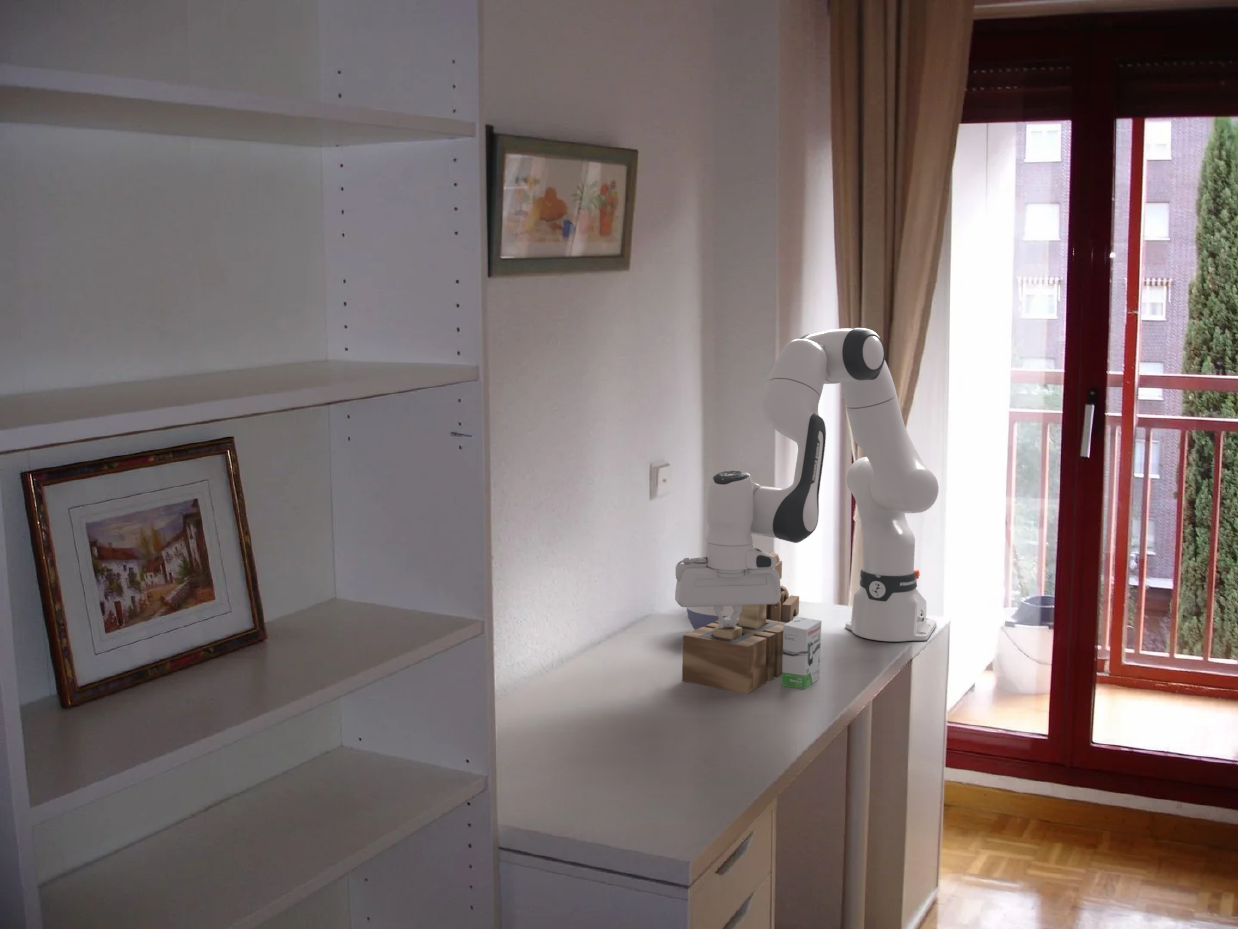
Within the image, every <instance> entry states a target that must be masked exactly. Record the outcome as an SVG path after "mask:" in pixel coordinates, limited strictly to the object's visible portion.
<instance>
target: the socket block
mask: <svg viewBox="0 0 1238 929" xmlns="http://www.w3.org/2000/svg"><path fill="white" fill-rule="evenodd" d="M730 616H731V615H730ZM730 616H727V617H725V618H728V617H730ZM786 623H787V622H778V621H772V620H766V625H765V626H762V627H760V628H758V629H757V628H751V627H745V626H739V616H738V618H737V619H736V626H737V627H742V636H740V637H738V638H736V639H734V640H731V639H725V638H720V637H714V636H713V634H714V628H716V627H719V620H718V621H715V623H711V624H708V625H706V627H701V628H699V629H696V630H695V629H693V630H692V631H689V632H687V633H685V634H683V635H682V663H681V664H682V670H681V671H682V674H681V678H682V679H681V681H683V682H688V683H693V684H697V685H701V686H702V685H703V686H707V687H711V688H716V689H721V690H727V691H731V692H736V693H741V694H745V695H748V694H750V693H751V692H753V691H754V690H757V689H759V688H760V687H762V686H764V685H766V683H770V682H771V681H773V680H775V678H778V677H780V676H781V677H782V655H783V626H784V624H786Z"/></svg>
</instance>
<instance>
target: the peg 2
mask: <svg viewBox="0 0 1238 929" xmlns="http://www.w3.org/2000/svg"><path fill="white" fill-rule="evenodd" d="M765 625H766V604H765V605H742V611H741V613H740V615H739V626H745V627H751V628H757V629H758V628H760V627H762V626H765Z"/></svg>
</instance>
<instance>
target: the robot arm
mask: <svg viewBox="0 0 1238 929" xmlns="http://www.w3.org/2000/svg"><path fill="white" fill-rule="evenodd" d="M885 359H886V350H885V346H884V342H883V340H882V339H881V337H880V336H879V335H878V334H877V333H876V331H874V330H872V329H869V328H865V327H864V328H862V327H855V328H838V329H837V328H836V329H830V330H829V329H828V330H826V331H820V332H817V333H813V334H809V333H808V334H804V335H801V336H799V337H797V338H795V339H793V340H790V341H789V342H788V343H787V342H786V344H785V345H784V346H783V347H782V350H781V351H780V353H779V355H778V357H777V359H776V361H775V363H774V365H773V366H772V369H771V372H770V374H769V377H768V380H767V382H766V386H765V389H764V391H763V395H762V398H761V411H762V415H763V416H764V419H765V420H766V422H767V424H769V426H771V427H772V429H774V430H775V431H777V432H778V433H779V434H780V435H783V436H784V437H786V438H788V439H789V440H791V441H793V442H795V443H796V444H797V454H796V462H795V468H794V476H793V481H792V482H793V483H792V484H791V485H790V486H788V487H786V488H781V487H774V486H767V485H763V484H762V485H761V484H759V483H757V482H755V481H753V480H752V477H751V474H750V473H749V472H747V471H742V470H736V469H735V470H725V471H721V472H718V473H716V474H714V475H713V476H712V477H711V481H710V482H709V487H708V494H707V503H706V522H707V526H708V529H707V531H708V532H707V534H706V538H705V539H706V540H705V557H693V558H691V557H684V558H683V559H681V560H680V561H679V562H677V564H676V565H675V574H674V575H675V579H676V584H675V585H676V586H675V593H674V594H675V595H674V599H675V602H676V603H677V604H678V605H679V606H680V607H682V608H687V607H709V606H713V610H714V611H715V613H716V615H717V617H718V618H719V628H720V629H724V628H735V627H736V619H737V618H738V616H739V615H740V613H741V611H742V605H765V604H777V603H778V601H779V600H780V598H781V587H780V586H781V579H780V577H779V574H778V572H777V570H776V569H774V567H776V564H777V560H776V558H775V557H774V556H773V555H771V554H770V553H769V551H768V552H767V551H765V550H762V549H759V548H756V547H754V546H753V544H754V542H753V536H752V535H757V536H762V537H768V538H775V539H779V540H782V541H786V542H790V543H794V544H799V543H800V542H802V541H804V540H806V539H807V538H809V537H810V536H811V534H813V533H814V532H815V531H816V528H817V526H818V523H819V513H820V512H819V511H820V507H819V506H820V504H819V503H820V502H819V497H820V496H819V495H820V490H821V488H820V487H821V480H822V474H823V467H824V466H823V465H824V456H825V450H826V438H827V437H826V436H827V428H826V422H825V421H824V419H823V418H822V417H821V416H820V415H819V403H820V400H821V396H822V394H823V389H824V385H834V384H841V388H842V390H841V391H842V395H843V400H844V404H845V409H846V413H847V417H848V421H849V425H850V429H851V434H852V438H853V440H854V442H855V443H856V445H857V446H858V447H859V448H860V449H861V450H862V452H863V453H864V455H865V456H864V457H860V458H858V459H856V460H855V461H853V463H852V464H851V465H850V467H849V469H848V471H847V475H846V483H847V484H846V485H847V488H848V489H849V491H850V493H851V494H852V496H853V498H854V500H855V502H856V506H857V511H858V515H859V520H860V524H861V529H862V530H861V532H862V567H861V569H860V573H859V586H860V588H859V589H858V590H856V591H855V592H854V593H853V599H852V608H851V617H850V618H851V619H850V621H847V622H845V627H844V628H845V629H847V630H850V631H851V632H852V633H853V634H854V635H856V636H857V637H860V638H865V639H868V640H873V641H880V642H881V641H882V642H908V641H927V640H929V638H930V637H931V635H932V633H933V631H934V630H935V629H936V626H937V621H936V620H934V619H930V618H927V600H926V599H925V598H924V597H923V596H922V594H921V593H920V592H919V591H918V589H917V587H918V585H917V582H918V579H919V578H920V575H921V574H920V570H919V569H915V568H914V567H915V550H916V549H915V547H916V545H915V544H916V538H915V535H914V533H913V530H912V529H911V527H910V526H909V524H908V521H907V517H906V515H905V514H918V513H920V514H921V513H924V512H926V511H928V510H930V508H931V507H933V505H934V504H935V502H936V501H937V499H938V495H939V483H938V480H937V478H936V476H935V475H934V473H933V472H932V471H930V469H929V468H928V467H927V466H926V464H924V462H923V460H922V458H921V457H920V455H919V453H918V451H917V448H916V447H915V445H914V444H913V442H912V439H911V437H910V435H909V433H908V431H907V428H906V425H905V421H904V418H903V414H902V411H901V406H900V402H899V398H898V395H897V394H898V393H897V390H896V386H895V383H894V380H893V377H892V374H891V371H890V369H889V367H888V364H887V362H886V360H885ZM752 546H753V547H752ZM723 606H732V608H733V609H734V611H733V613H732V614H731V616H730V617H728V618H723V616H722V614H721V612H720V611H723Z"/></svg>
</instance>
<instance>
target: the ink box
mask: <svg viewBox="0 0 1238 929" xmlns="http://www.w3.org/2000/svg"><path fill="white" fill-rule="evenodd" d="M785 623H786V624H784V626H783V655H782V675H781V686H783V687H790V688H794V689H795V688H796V689H801V690H806V689H807V688H809V686H811V685H812V684H814V683H815V682H816V681H818V680H819V679H820V677H821V676H820V672H821V671H820V669H821V668H820V667H821V641H822V640H821V638H822V634H821V633H822V620H818V619H814V618H808V617H803V616H802V617H801V616H799V617H796V618H794V619H793V620H792V621H790V622H788V623H787V622H785Z"/></svg>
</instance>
